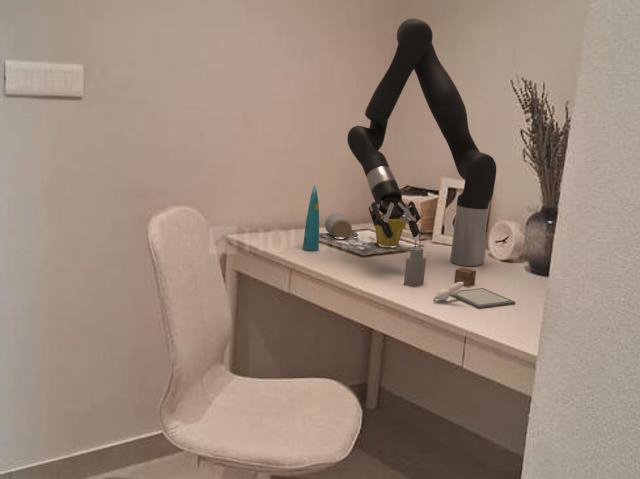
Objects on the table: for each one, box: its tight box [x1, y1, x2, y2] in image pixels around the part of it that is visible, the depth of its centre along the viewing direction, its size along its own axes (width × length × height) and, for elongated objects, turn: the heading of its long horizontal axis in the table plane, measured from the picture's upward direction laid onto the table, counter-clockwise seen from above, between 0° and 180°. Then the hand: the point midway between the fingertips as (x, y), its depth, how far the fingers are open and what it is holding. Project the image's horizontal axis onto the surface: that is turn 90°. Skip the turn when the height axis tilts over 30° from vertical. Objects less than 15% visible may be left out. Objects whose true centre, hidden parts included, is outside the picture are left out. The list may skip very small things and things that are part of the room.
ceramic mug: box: [324, 212, 359, 238], centre depth 235 cm, size 11×8×8 cm
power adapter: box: [403, 239, 427, 288], centre depth 187 cm, size 3×5×12 cm, turn 134°
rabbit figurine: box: [433, 282, 464, 303], centre depth 175 cm, size 6×4×8 cm
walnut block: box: [453, 266, 477, 288], centre depth 192 cm, size 4×4×4 cm
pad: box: [449, 287, 516, 310], centre depth 179 cm, size 12×12×1 cm
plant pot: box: [372, 212, 407, 247], centre depth 228 cm, size 10×10×10 cm
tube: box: [302, 185, 320, 252], centre depth 215 cm, size 7×5×19 cm, turn 13°
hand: (403, 236), depth 191 cm, fingers open, 8 cm apart
